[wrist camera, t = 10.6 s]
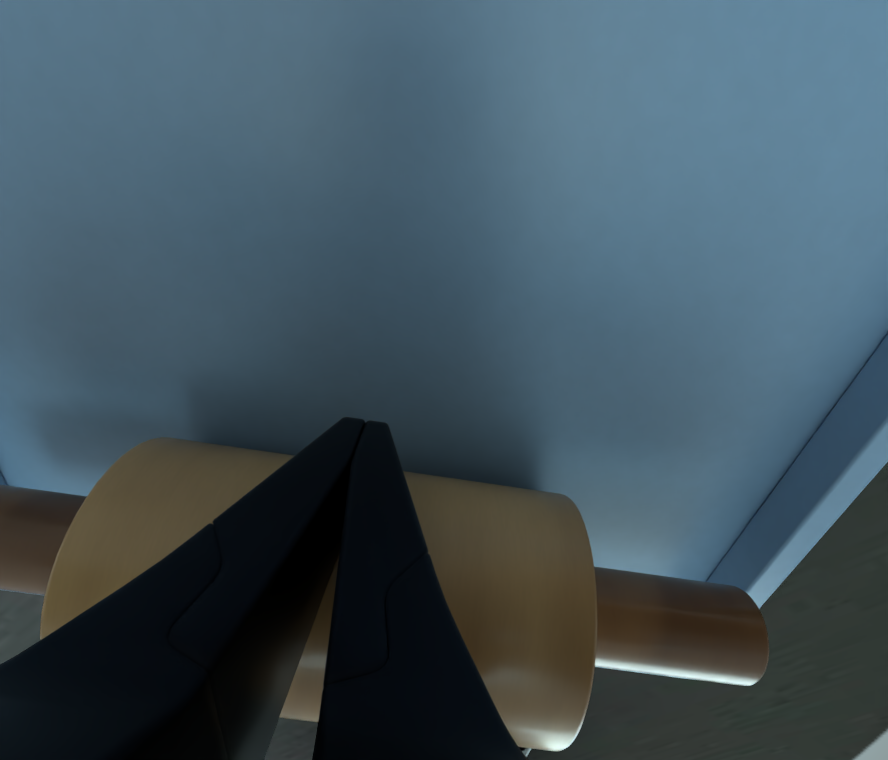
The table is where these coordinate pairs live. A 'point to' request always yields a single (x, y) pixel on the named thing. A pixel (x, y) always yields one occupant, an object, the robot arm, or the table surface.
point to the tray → (462, 251)
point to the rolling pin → (456, 565)
